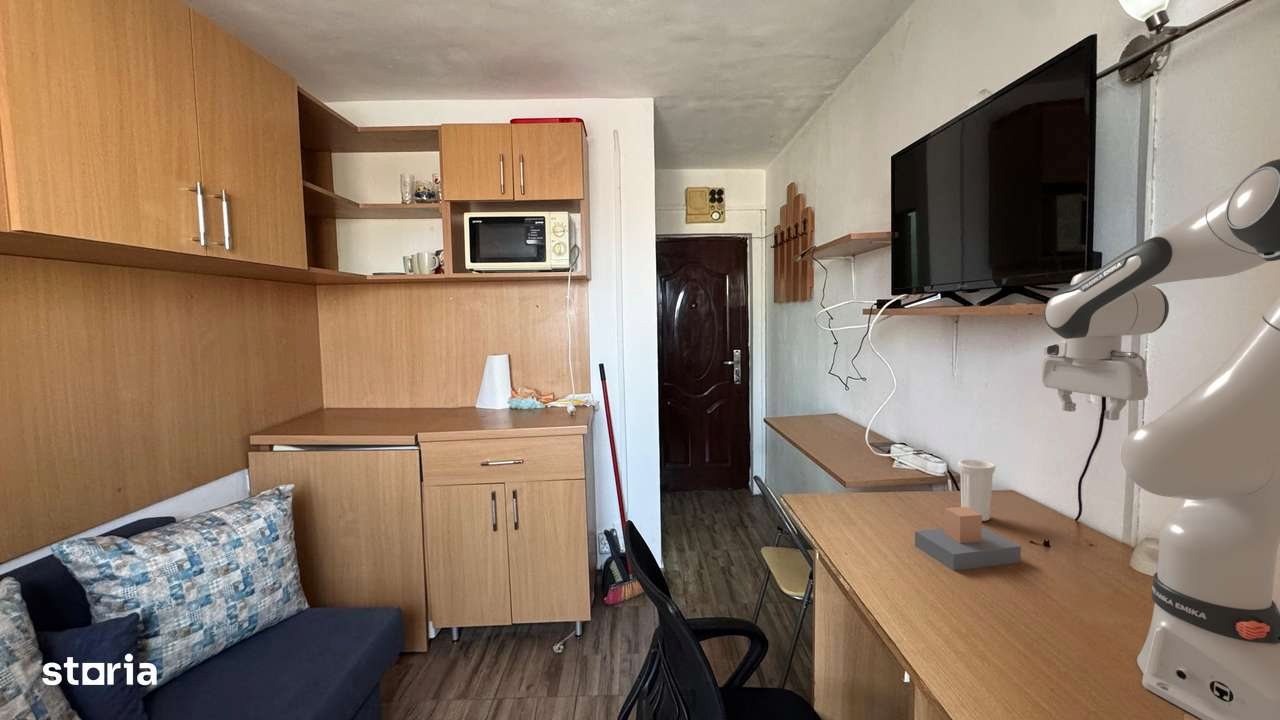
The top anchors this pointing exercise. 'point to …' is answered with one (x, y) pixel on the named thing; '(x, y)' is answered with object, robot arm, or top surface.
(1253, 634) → the robot arm
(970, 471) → the cup
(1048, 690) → the top surface
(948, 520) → the block
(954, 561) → the grey flat slab
